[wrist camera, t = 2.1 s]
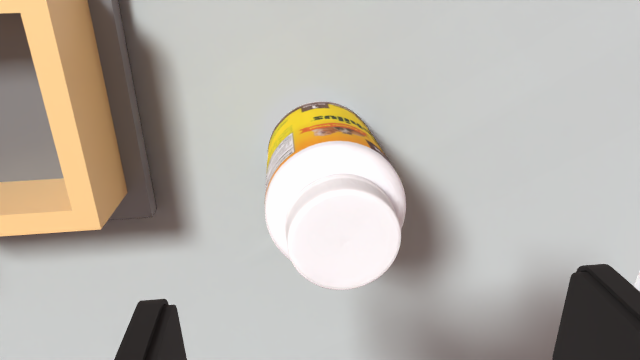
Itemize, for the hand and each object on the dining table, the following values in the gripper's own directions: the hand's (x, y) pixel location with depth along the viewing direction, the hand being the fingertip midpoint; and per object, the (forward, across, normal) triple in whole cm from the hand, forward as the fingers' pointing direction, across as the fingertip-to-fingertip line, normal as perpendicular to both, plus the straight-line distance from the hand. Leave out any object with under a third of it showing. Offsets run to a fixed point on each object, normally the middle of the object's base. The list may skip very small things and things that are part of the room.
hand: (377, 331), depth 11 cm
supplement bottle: (+16, 0, +1) cm, 16 cm away
